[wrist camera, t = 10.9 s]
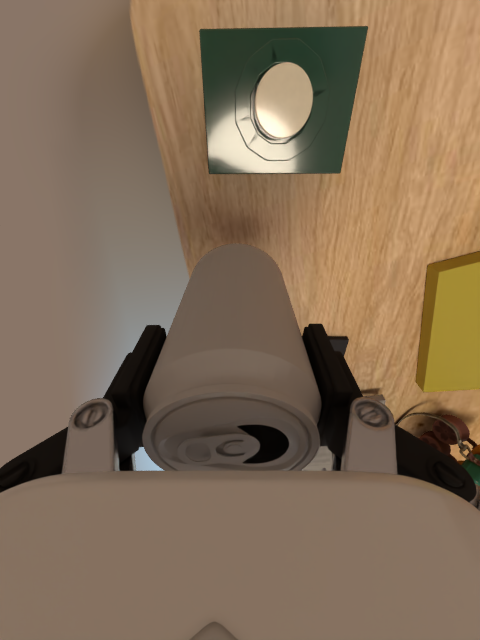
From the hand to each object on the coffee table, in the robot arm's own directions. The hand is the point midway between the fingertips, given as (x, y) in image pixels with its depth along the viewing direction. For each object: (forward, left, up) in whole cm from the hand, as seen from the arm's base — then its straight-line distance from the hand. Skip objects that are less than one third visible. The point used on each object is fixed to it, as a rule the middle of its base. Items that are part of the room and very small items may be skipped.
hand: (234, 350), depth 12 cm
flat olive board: (+32, -13, -20) cm, 40 cm away
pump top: (+3, +11, -16) cm, 19 cm away
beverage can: (0, 0, -7) cm, 7 cm away
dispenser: (+3, +11, -20) cm, 23 cm away
